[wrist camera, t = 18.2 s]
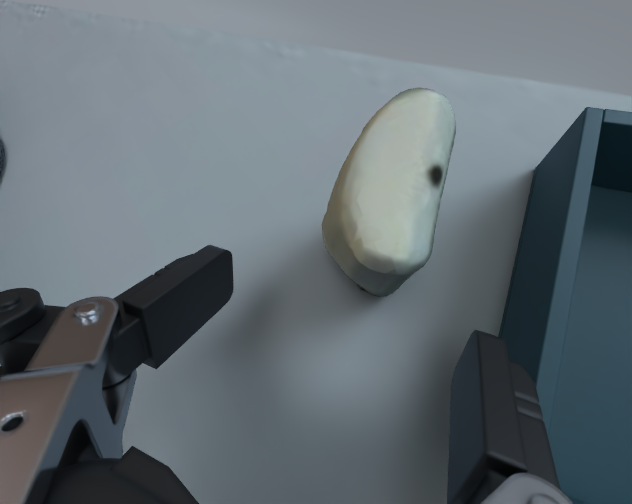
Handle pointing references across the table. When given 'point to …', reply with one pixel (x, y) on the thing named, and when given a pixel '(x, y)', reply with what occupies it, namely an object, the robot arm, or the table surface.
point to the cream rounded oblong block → (391, 192)
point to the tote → (580, 305)
